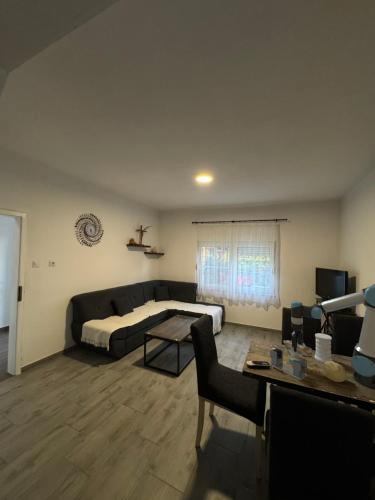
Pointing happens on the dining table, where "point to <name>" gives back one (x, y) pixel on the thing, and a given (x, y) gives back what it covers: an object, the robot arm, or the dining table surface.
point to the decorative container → (323, 347)
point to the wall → (292, 351)
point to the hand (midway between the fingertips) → (297, 355)
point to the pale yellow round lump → (334, 371)
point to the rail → (299, 348)
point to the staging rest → (292, 360)
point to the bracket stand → (294, 371)
